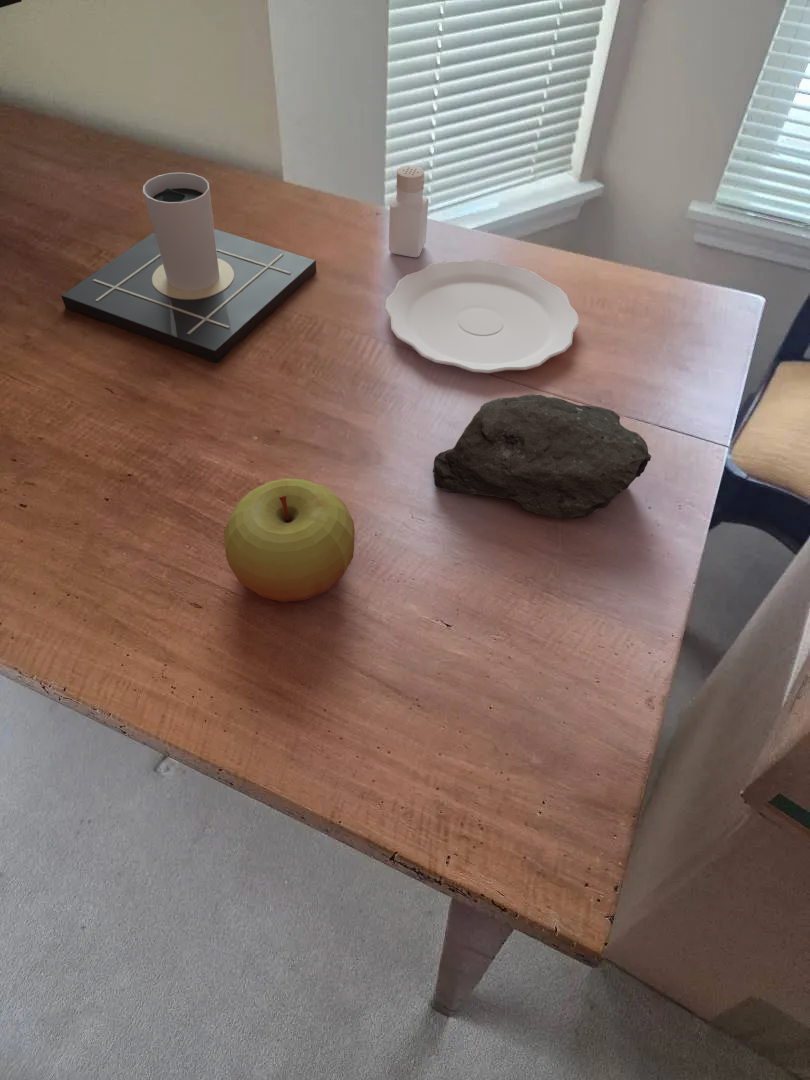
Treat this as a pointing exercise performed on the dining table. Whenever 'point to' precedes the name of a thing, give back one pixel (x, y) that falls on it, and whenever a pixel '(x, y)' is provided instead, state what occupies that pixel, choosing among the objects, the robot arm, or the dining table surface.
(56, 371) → the dining table surface
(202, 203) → the white cup
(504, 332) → the plate
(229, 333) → the board
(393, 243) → the salt shaker
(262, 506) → the apple
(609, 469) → the stone
